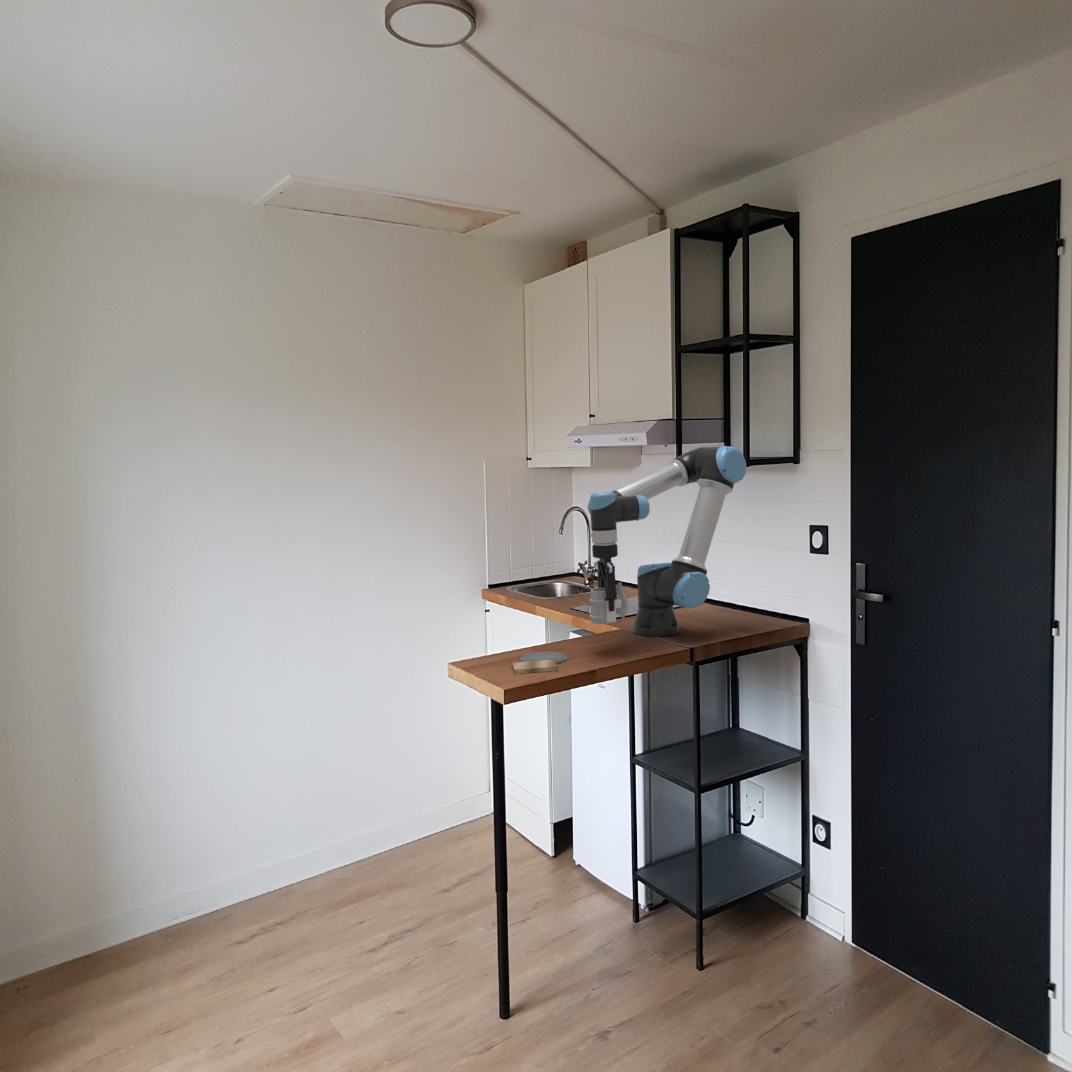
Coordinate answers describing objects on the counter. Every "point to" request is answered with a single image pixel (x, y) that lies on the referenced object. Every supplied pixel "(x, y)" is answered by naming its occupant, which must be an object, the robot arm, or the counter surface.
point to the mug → (600, 605)
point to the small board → (534, 666)
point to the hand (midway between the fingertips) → (608, 618)
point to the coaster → (544, 657)
